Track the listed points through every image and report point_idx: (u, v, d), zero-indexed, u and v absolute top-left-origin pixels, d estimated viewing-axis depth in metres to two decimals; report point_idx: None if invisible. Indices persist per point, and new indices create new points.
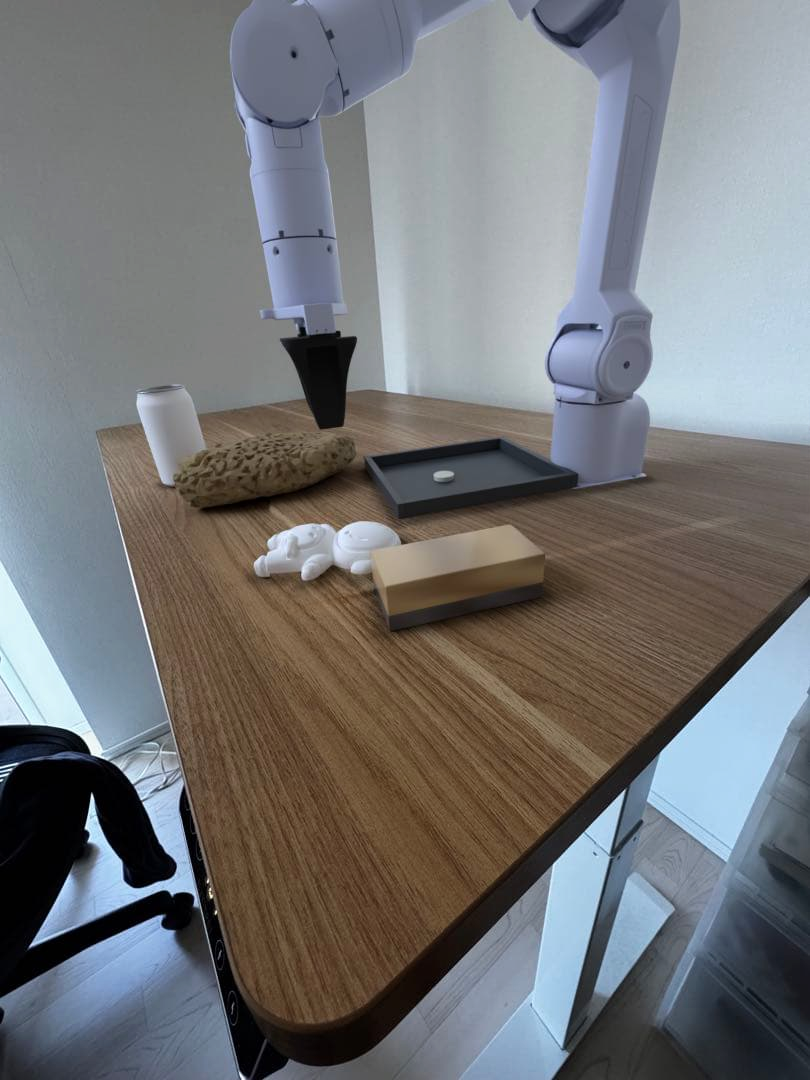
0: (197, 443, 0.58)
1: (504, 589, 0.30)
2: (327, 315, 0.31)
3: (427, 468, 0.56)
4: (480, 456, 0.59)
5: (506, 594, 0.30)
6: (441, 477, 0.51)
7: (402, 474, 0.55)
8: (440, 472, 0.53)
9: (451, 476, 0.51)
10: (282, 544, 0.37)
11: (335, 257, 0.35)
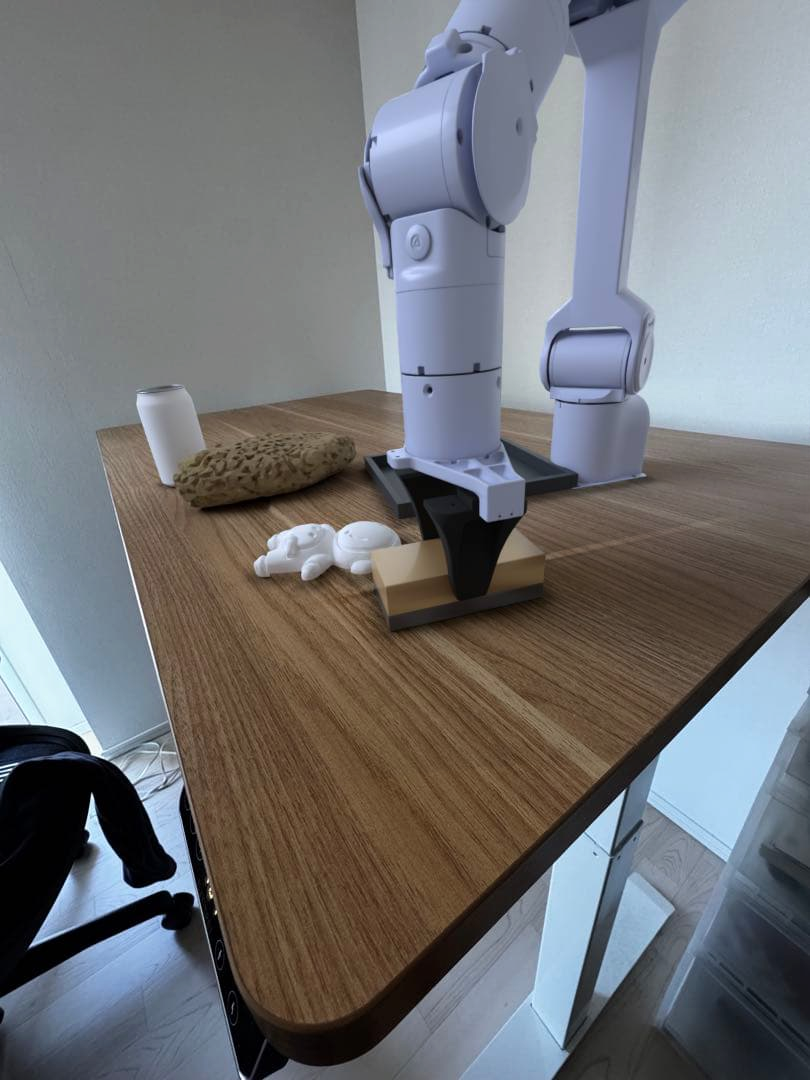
0: (197, 443, 0.58)
1: (504, 589, 0.30)
2: (517, 496, 0.21)
3: None
4: None
5: (506, 595, 0.30)
6: None
7: None
8: None
9: None
10: (282, 544, 0.37)
11: (500, 389, 0.25)
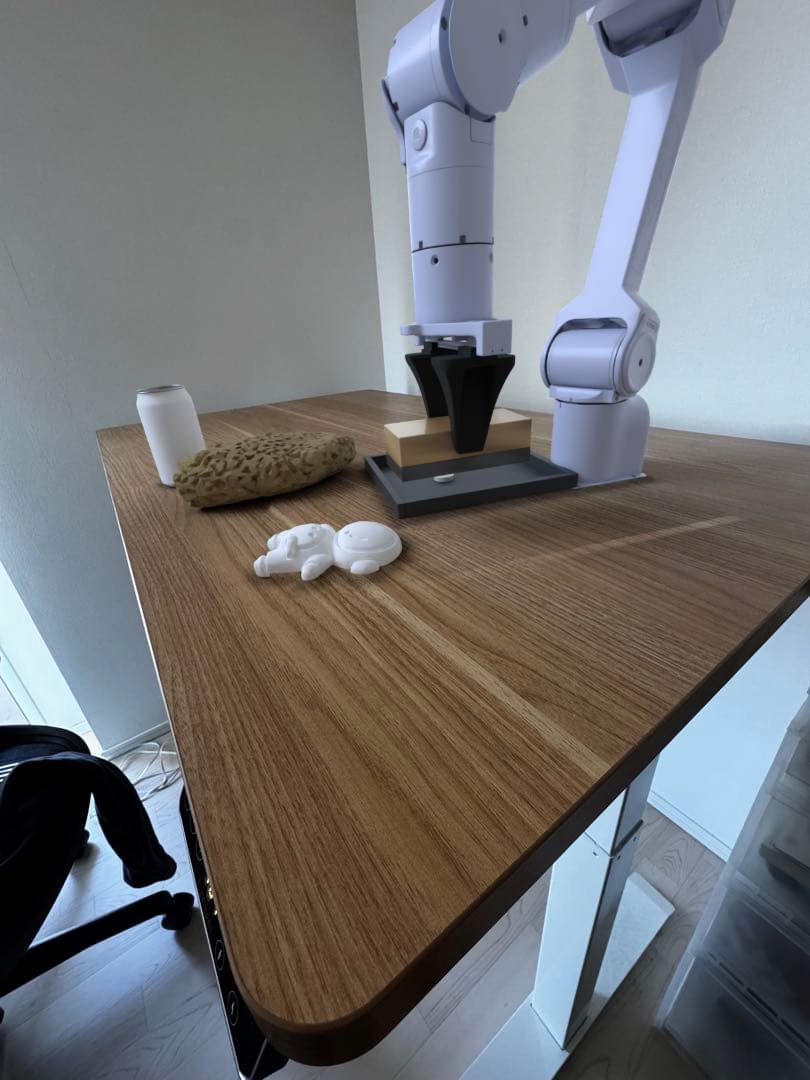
0: (197, 443, 0.58)
1: (497, 450, 0.36)
2: (505, 334, 0.27)
3: None
4: None
5: (499, 456, 0.36)
6: (441, 477, 0.51)
7: None
8: None
9: (451, 476, 0.51)
10: (282, 544, 0.37)
11: (493, 266, 0.31)
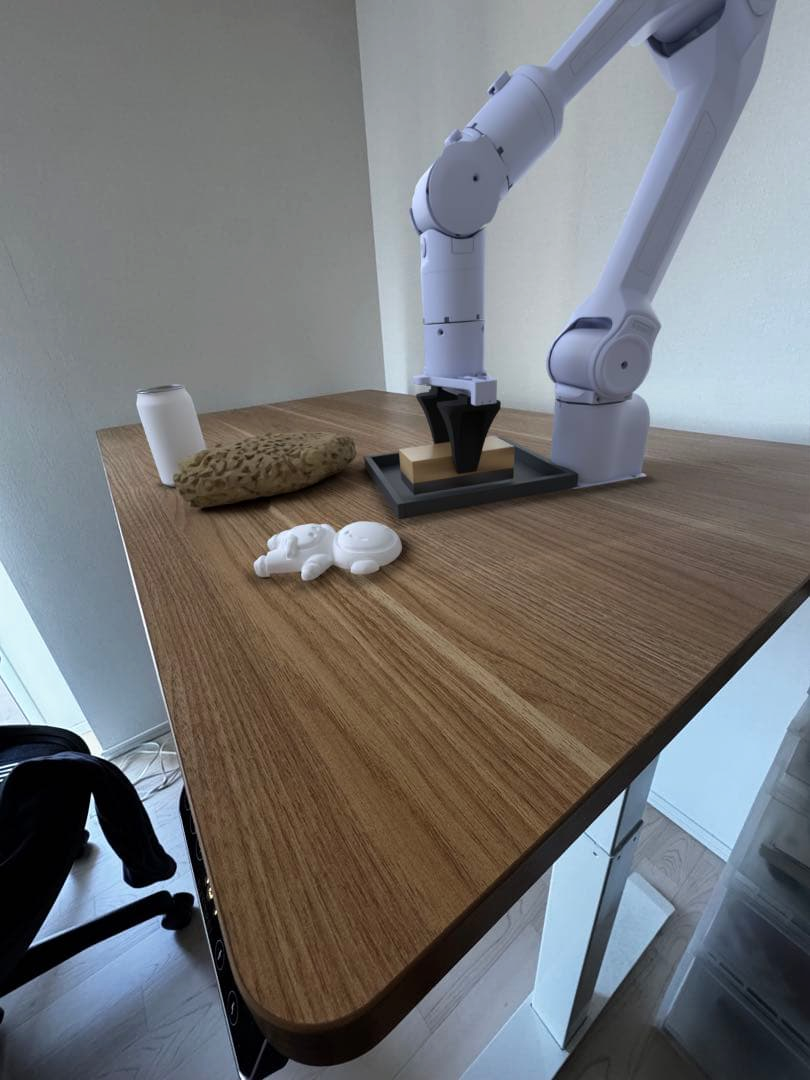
0: (197, 443, 0.58)
1: (488, 470, 0.46)
2: (492, 390, 0.37)
3: None
4: None
5: (489, 474, 0.46)
6: None
7: None
8: None
9: None
10: (282, 544, 0.37)
11: (484, 334, 0.41)
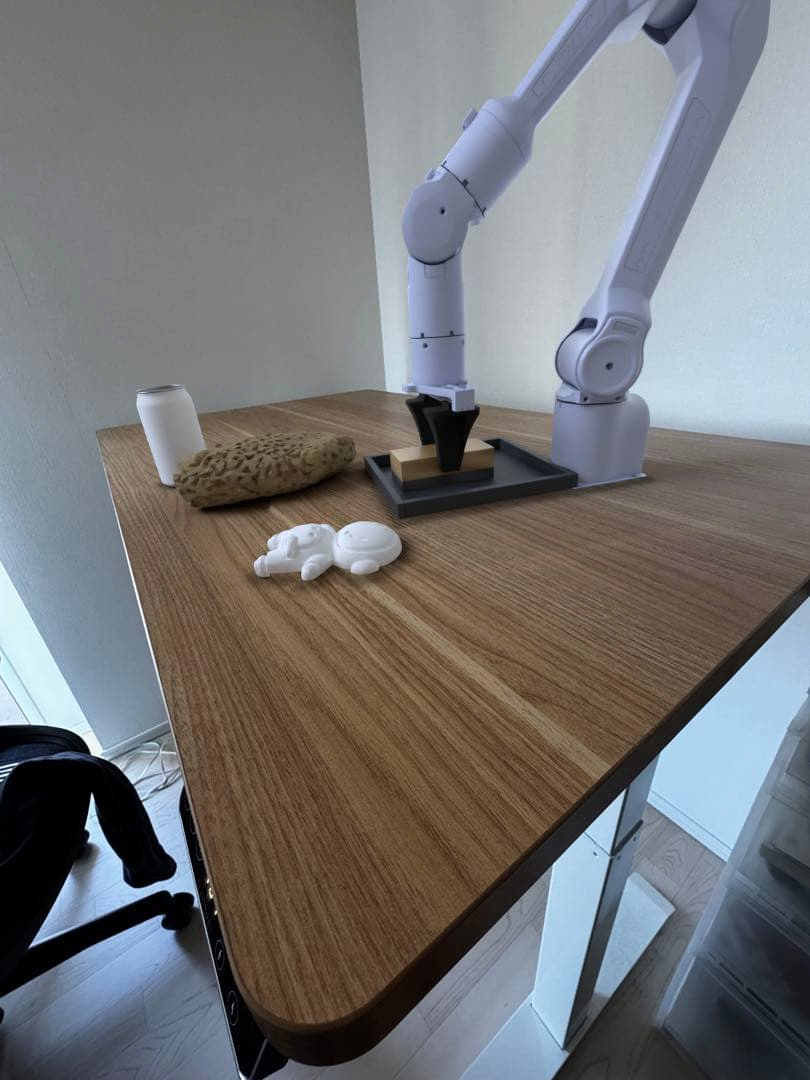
0: (197, 443, 0.58)
1: (470, 469, 0.51)
2: (470, 397, 0.42)
3: None
4: None
5: (471, 473, 0.51)
6: None
7: None
8: None
9: None
10: (282, 544, 0.37)
11: (465, 347, 0.46)
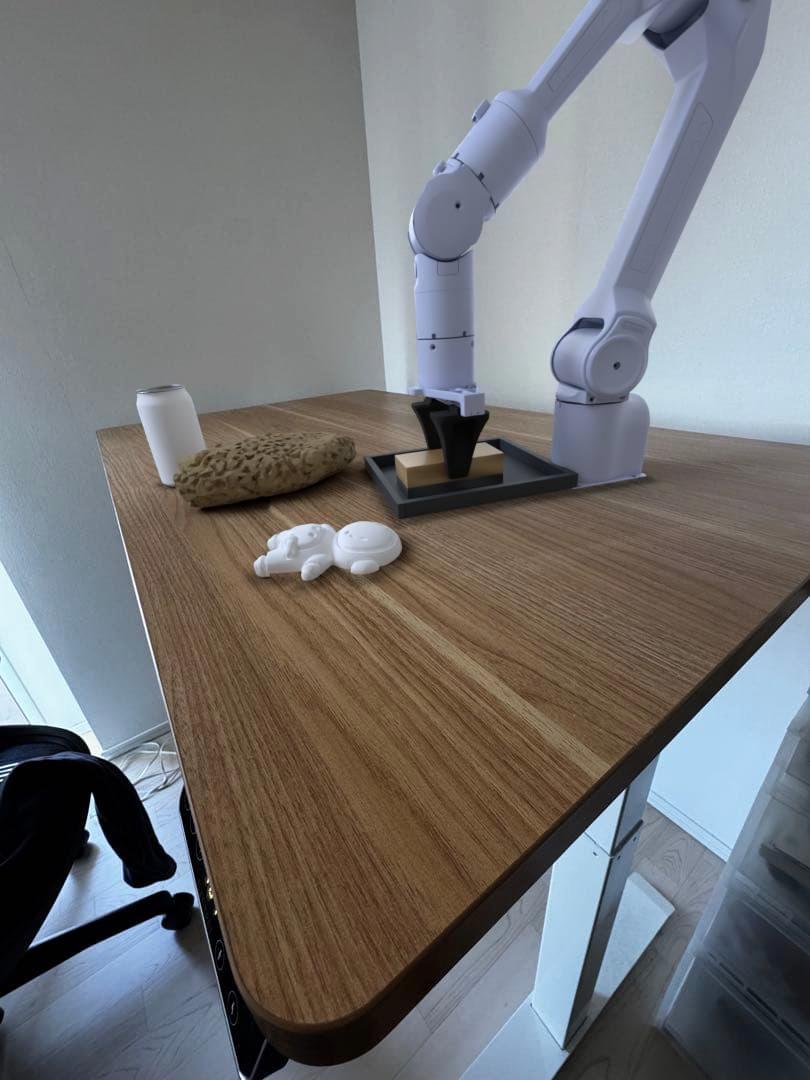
0: (197, 443, 0.58)
1: (478, 475, 0.49)
2: (480, 402, 0.40)
3: None
4: None
5: (480, 479, 0.49)
6: None
7: None
8: None
9: None
10: (282, 544, 0.37)
11: (474, 348, 0.44)
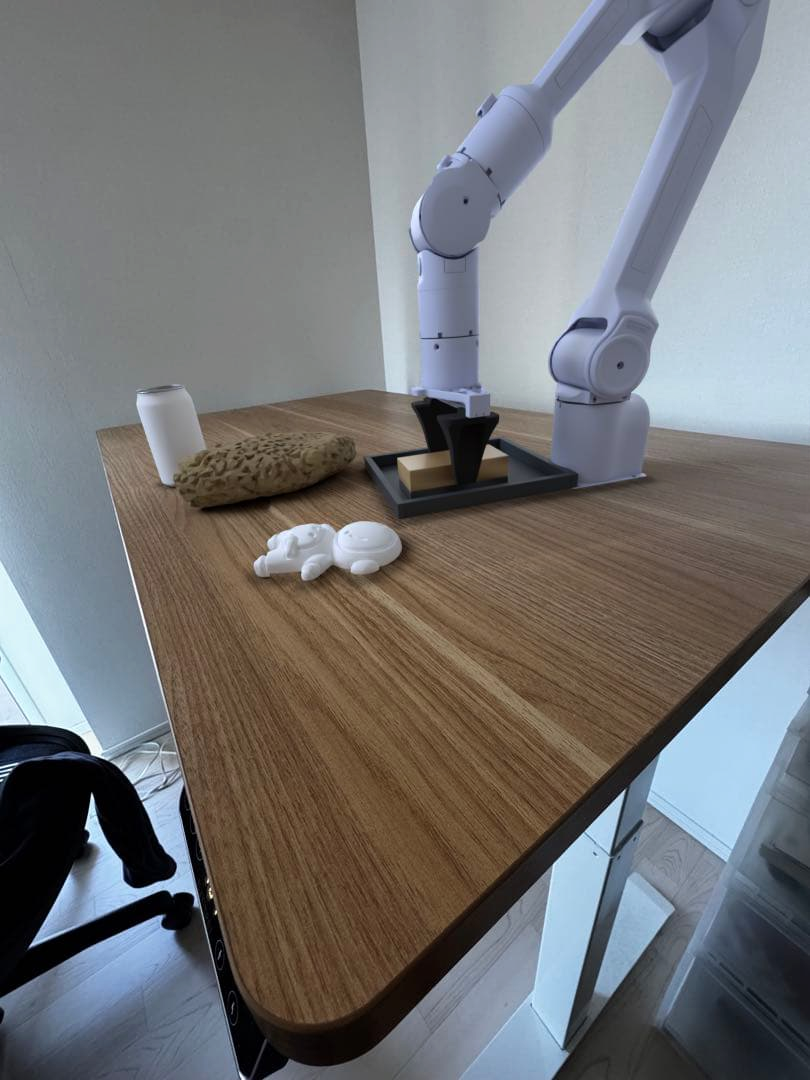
0: (197, 443, 0.58)
1: (483, 479, 0.48)
2: (485, 403, 0.39)
3: None
4: None
5: (484, 483, 0.48)
6: None
7: None
8: None
9: None
10: (282, 544, 0.37)
11: (479, 348, 0.43)
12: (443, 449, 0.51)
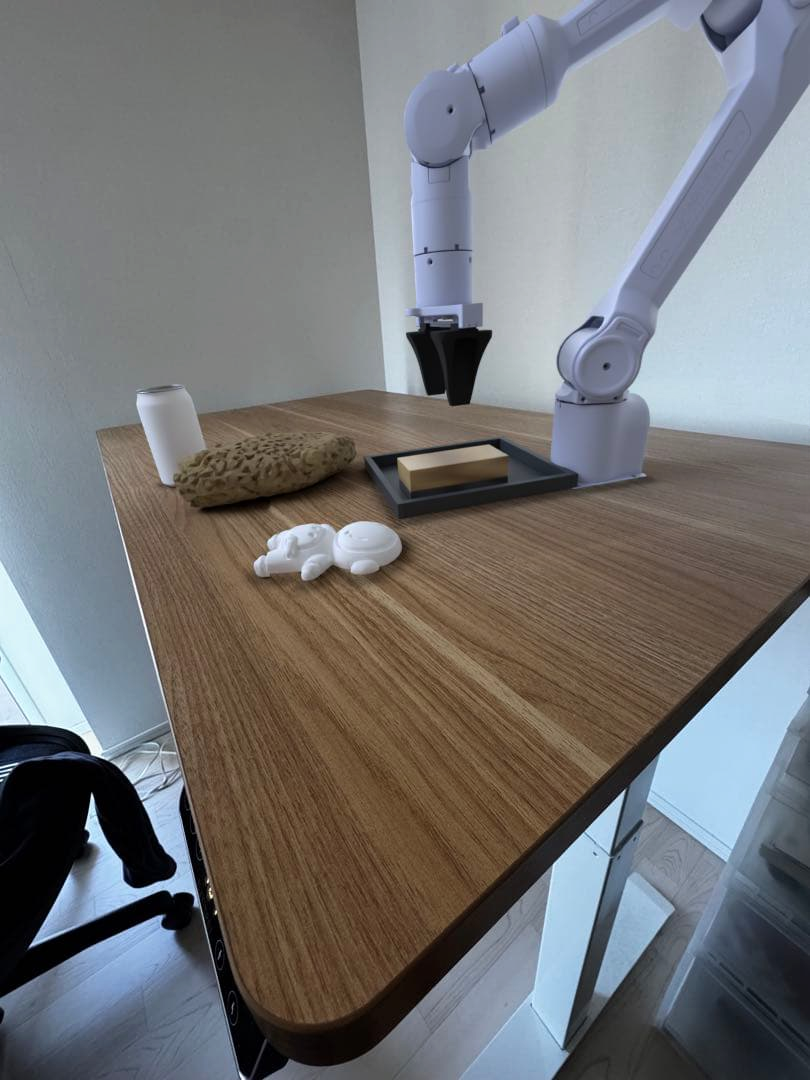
0: (197, 443, 0.58)
1: (483, 479, 0.48)
2: (478, 312, 0.40)
3: None
4: None
5: (484, 483, 0.48)
6: None
7: None
8: None
9: None
10: (282, 544, 0.37)
11: (472, 266, 0.43)
12: (438, 380, 0.52)
